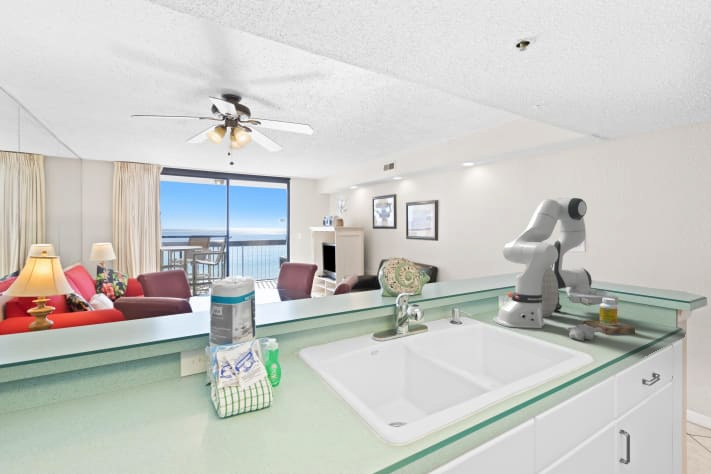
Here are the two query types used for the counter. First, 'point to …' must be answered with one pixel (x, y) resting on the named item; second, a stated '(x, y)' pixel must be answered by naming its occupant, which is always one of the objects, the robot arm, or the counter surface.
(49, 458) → the counter surface
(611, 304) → the supplement bottle
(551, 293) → the vase
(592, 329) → the bunny figurine
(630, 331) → the walnut base
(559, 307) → the salt shaker
